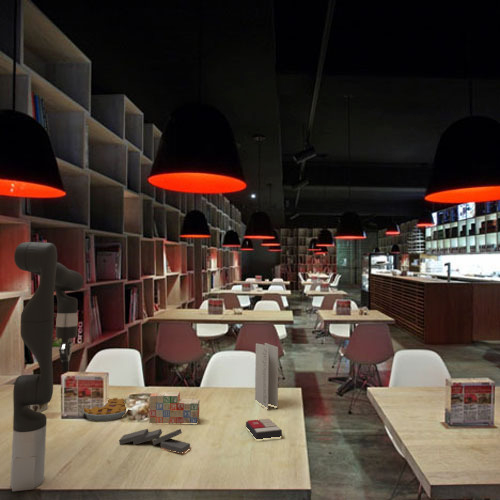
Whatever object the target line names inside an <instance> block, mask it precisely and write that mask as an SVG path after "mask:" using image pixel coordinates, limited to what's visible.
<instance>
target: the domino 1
mask: <svg viewBox="0 0 500 500" xmlns="http://www.w3.org/2000/svg"><path fill="white" fill-rule="evenodd" d="M149 432H150V431H149V429H148V428H145V429H142V430H138V431H134V432H131V433H127V434H123V436H121V437H120V439H119V440H118V443H119V445H124V444H126V443H131V442H133V441H135V440H139V439H143V438H145V437H146V436H147V434H148V433H149Z"/></svg>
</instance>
